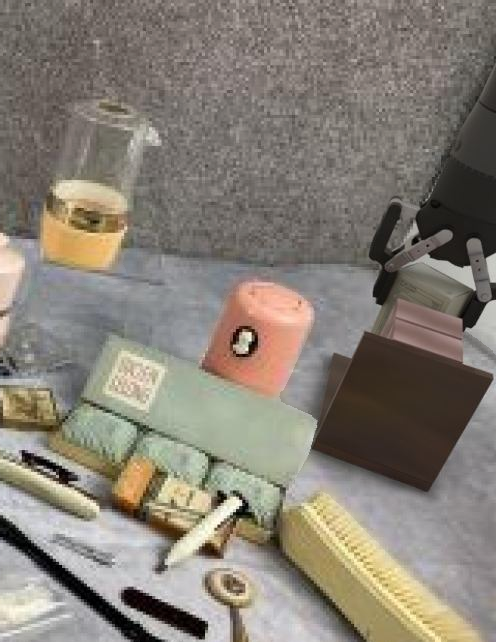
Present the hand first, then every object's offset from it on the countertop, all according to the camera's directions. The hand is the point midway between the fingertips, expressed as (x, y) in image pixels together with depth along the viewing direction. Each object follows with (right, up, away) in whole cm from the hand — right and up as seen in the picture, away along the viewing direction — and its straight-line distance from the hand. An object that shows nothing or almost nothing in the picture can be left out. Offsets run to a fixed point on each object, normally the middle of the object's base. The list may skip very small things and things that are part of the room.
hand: (418, 314), depth 93 cm
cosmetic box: (-1, -7, +5) cm, 8 cm away
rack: (-4, -11, +2) cm, 11 cm away
